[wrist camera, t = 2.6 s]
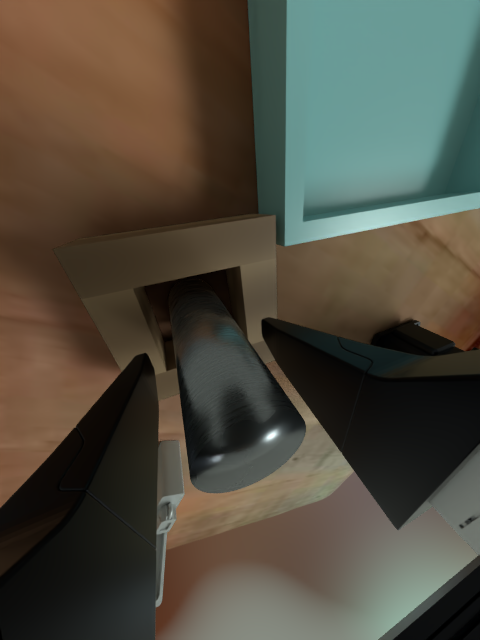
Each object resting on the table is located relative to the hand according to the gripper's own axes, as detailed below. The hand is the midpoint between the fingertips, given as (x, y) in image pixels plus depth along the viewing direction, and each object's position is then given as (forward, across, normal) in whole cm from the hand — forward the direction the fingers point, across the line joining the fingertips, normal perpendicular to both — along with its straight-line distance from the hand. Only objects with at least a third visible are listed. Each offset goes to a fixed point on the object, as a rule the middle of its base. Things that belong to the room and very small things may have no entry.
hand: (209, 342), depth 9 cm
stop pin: (+5, 0, 0) cm, 5 cm away
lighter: (+5, +7, +16) cm, 18 cm away
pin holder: (+5, 0, 0) cm, 5 cm away
